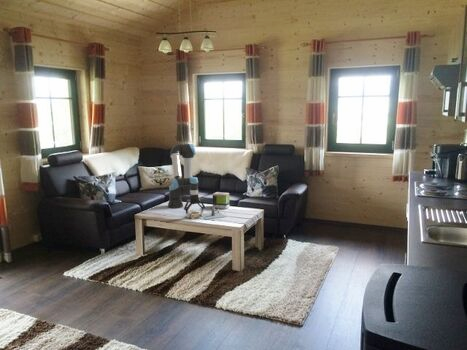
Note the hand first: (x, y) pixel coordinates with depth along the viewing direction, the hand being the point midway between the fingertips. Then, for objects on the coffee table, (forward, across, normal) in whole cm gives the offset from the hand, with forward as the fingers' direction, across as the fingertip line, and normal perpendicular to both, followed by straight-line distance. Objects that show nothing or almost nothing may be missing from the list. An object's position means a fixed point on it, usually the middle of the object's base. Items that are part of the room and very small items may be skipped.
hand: (194, 216), depth 346 cm
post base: (+1, +17, -4) cm, 17 cm away
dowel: (+1, +24, +2) cm, 25 cm away
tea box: (+1, +35, +21) cm, 41 cm away
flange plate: (+1, 0, +3) cm, 3 cm away
